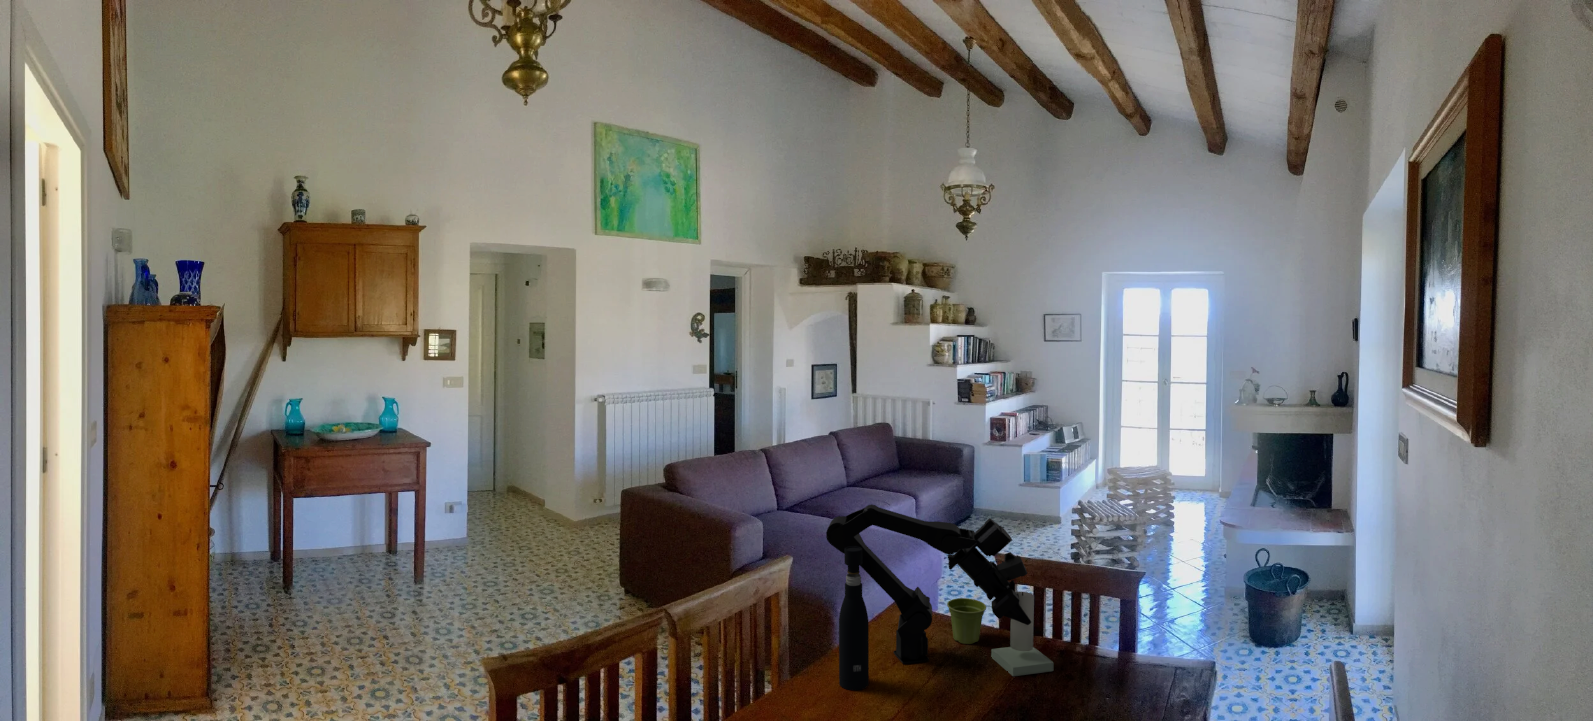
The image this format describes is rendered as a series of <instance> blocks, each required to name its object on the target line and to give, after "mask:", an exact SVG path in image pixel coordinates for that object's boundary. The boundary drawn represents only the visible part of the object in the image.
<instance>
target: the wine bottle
mask: <svg viewBox="0 0 1593 721" xmlns="http://www.w3.org/2000/svg"><path fill="white" fill-rule="evenodd" d="M844 564H845V565H846V566H847V570H846V571H847V572H846V573H847V574H846V576H845V579H846V580H845V583H844V598H843V600H842V604H841V606H840V610H839V616H838V670H839V671H838V672H839V673H838V681H839V682H838V683H839V686H840V687H841V688H842V689H845V690H848V691H861V690H864V689H866V688H867V687H868V686H869V682H870V681H869V680H870V678H869V676H870V674H869V672H870V671H869V669H870V668H869V667H870V666H869V665H870V664H869V661H870V660H869V658H870V657H869V655H870V654H869V647H870V646H869V643H870V642H869V640H870V639H869V636H870V635H869V632H870V631H869V616H868V611H867V605H866V603H865V600H864V597H863V583H862V577H861V573H860V571H861V570H860V565H862V548H861V547H857V546H849V547H846V548H845V554H844Z"/></svg>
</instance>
